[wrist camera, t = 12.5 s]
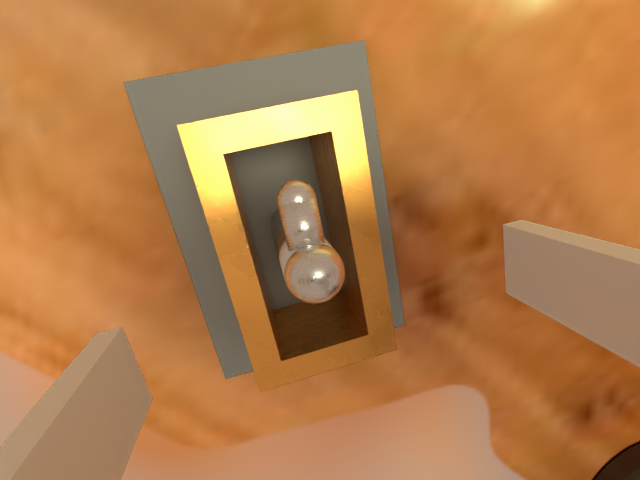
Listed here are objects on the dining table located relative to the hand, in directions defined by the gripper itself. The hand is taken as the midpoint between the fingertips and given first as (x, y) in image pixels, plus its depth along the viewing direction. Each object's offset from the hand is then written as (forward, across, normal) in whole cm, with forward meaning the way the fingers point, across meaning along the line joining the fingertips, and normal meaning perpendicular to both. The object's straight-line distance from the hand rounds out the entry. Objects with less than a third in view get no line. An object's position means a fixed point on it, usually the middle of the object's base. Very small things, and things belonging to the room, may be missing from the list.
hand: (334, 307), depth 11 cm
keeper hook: (+12, 0, -2) cm, 12 cm away
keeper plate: (+13, 0, 0) cm, 13 cm away
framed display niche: (+12, 0, 0) cm, 12 cm away
